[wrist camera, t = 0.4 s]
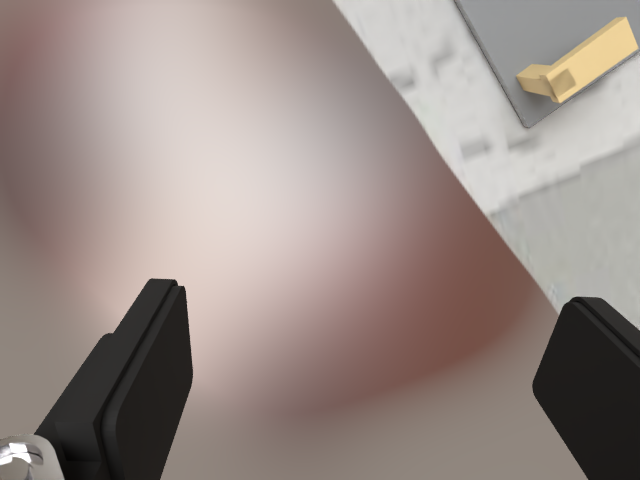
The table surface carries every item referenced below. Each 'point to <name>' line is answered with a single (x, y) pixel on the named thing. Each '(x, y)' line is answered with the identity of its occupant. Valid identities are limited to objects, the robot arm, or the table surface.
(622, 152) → the table surface
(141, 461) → the robot arm
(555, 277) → the table surface
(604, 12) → the slate base
